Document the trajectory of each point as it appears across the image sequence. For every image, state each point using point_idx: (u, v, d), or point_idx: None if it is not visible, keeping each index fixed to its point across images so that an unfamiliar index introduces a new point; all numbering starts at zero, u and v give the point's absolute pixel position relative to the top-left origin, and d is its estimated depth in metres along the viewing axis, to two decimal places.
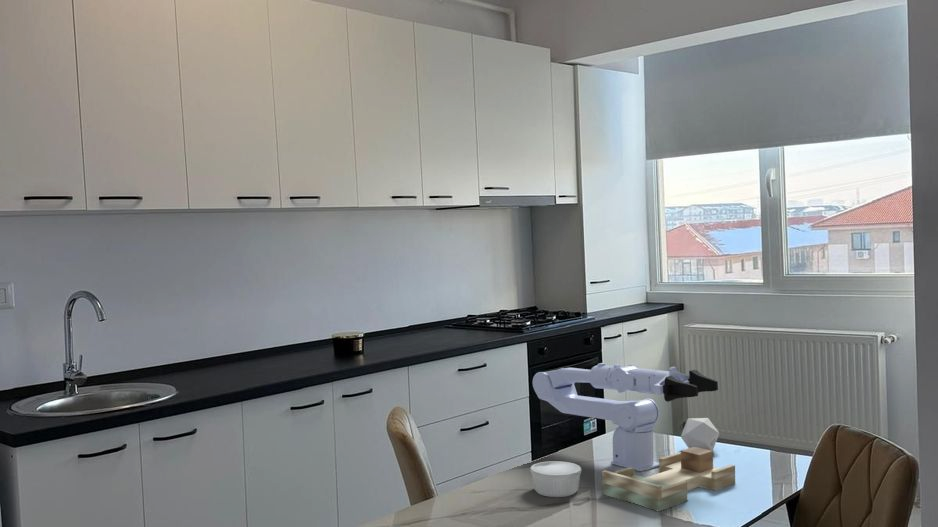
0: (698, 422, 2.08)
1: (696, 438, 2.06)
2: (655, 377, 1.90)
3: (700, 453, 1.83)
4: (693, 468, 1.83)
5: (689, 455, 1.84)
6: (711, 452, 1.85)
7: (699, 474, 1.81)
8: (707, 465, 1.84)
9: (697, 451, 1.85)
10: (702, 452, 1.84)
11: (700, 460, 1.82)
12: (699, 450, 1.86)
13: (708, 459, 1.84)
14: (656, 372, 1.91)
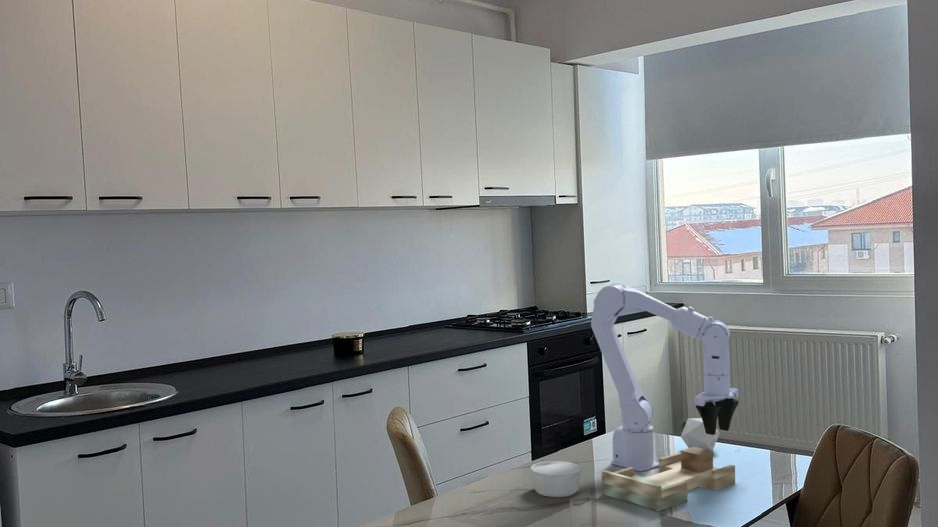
0: (698, 422, 2.08)
1: (696, 438, 2.06)
2: (717, 382, 1.87)
3: (700, 453, 1.83)
4: (693, 468, 1.83)
5: (689, 455, 1.84)
6: (711, 452, 1.85)
7: (699, 474, 1.81)
8: (707, 465, 1.84)
9: (697, 451, 1.85)
10: (702, 452, 1.84)
11: (700, 460, 1.82)
12: (699, 450, 1.86)
13: (708, 459, 1.84)
14: (723, 379, 1.87)
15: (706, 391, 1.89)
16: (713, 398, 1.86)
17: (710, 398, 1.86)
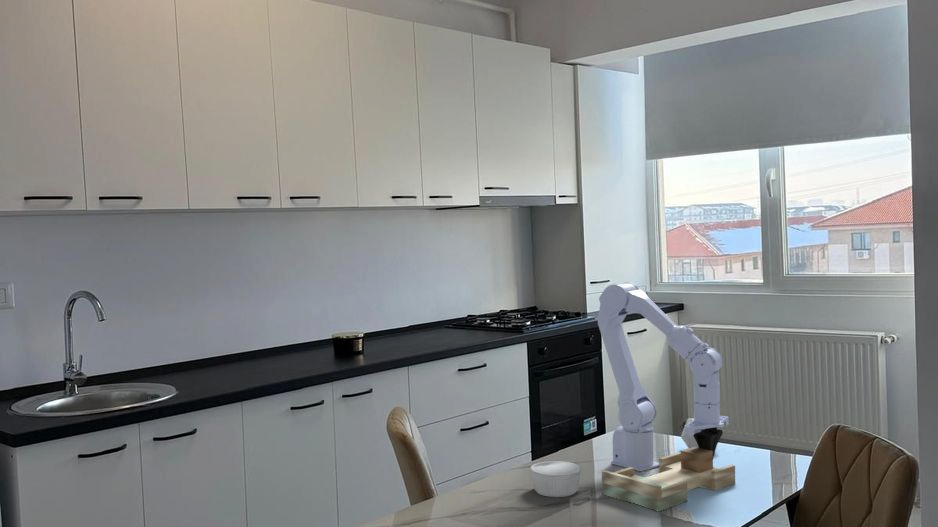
0: None
1: None
2: (707, 411, 1.85)
3: (700, 453, 1.83)
4: (693, 468, 1.83)
5: (689, 455, 1.84)
6: (711, 452, 1.85)
7: (699, 474, 1.81)
8: (707, 465, 1.84)
9: (697, 451, 1.85)
10: (702, 452, 1.84)
11: (700, 460, 1.82)
12: (699, 450, 1.86)
13: (708, 459, 1.84)
14: (713, 408, 1.85)
15: (696, 420, 1.87)
16: (703, 427, 1.84)
17: (700, 427, 1.84)
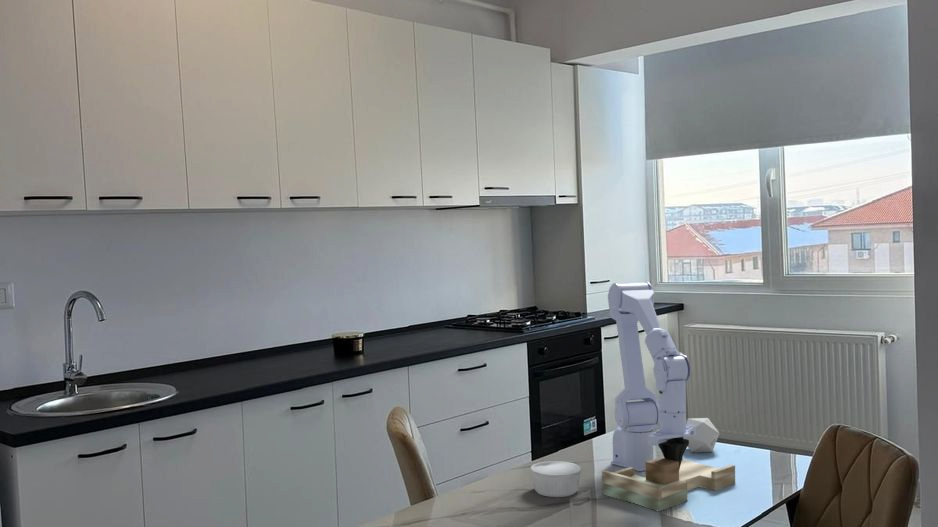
0: (698, 422, 2.08)
1: (696, 438, 2.06)
2: (672, 419, 1.77)
3: (665, 464, 1.75)
4: (658, 480, 1.75)
5: (654, 466, 1.76)
6: (677, 463, 1.77)
7: (699, 474, 1.81)
8: (673, 477, 1.76)
9: (662, 462, 1.77)
10: (667, 463, 1.76)
11: (665, 471, 1.74)
12: (664, 461, 1.78)
13: (674, 470, 1.76)
14: (679, 417, 1.77)
15: (661, 429, 1.79)
16: (668, 437, 1.76)
17: (664, 437, 1.76)
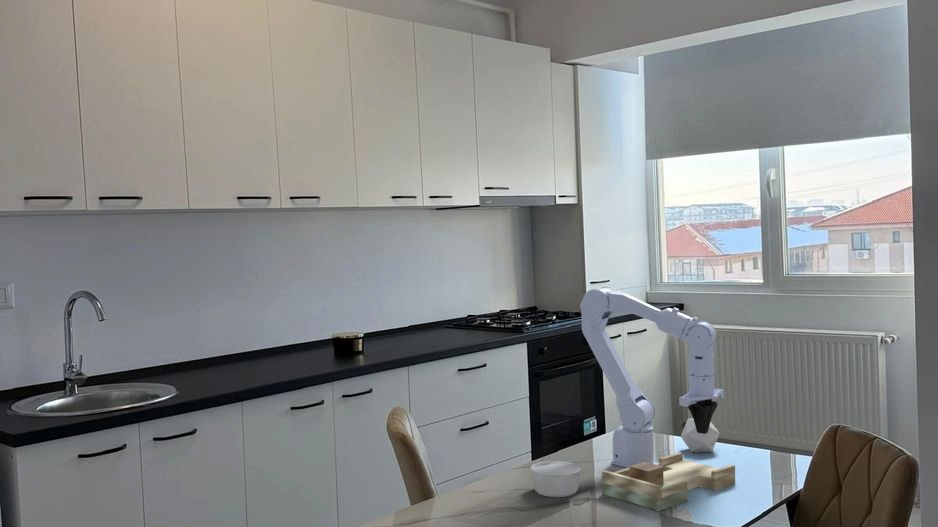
0: None
1: (696, 438, 2.06)
2: (701, 382, 1.87)
3: (649, 469, 1.72)
4: None
5: (638, 471, 1.73)
6: (661, 468, 1.74)
7: (699, 474, 1.81)
8: (657, 482, 1.73)
9: (646, 467, 1.74)
10: (651, 468, 1.73)
11: (649, 476, 1.71)
12: (649, 466, 1.74)
13: (658, 475, 1.73)
14: (708, 380, 1.87)
15: (691, 392, 1.89)
16: (698, 399, 1.86)
17: (695, 399, 1.86)
